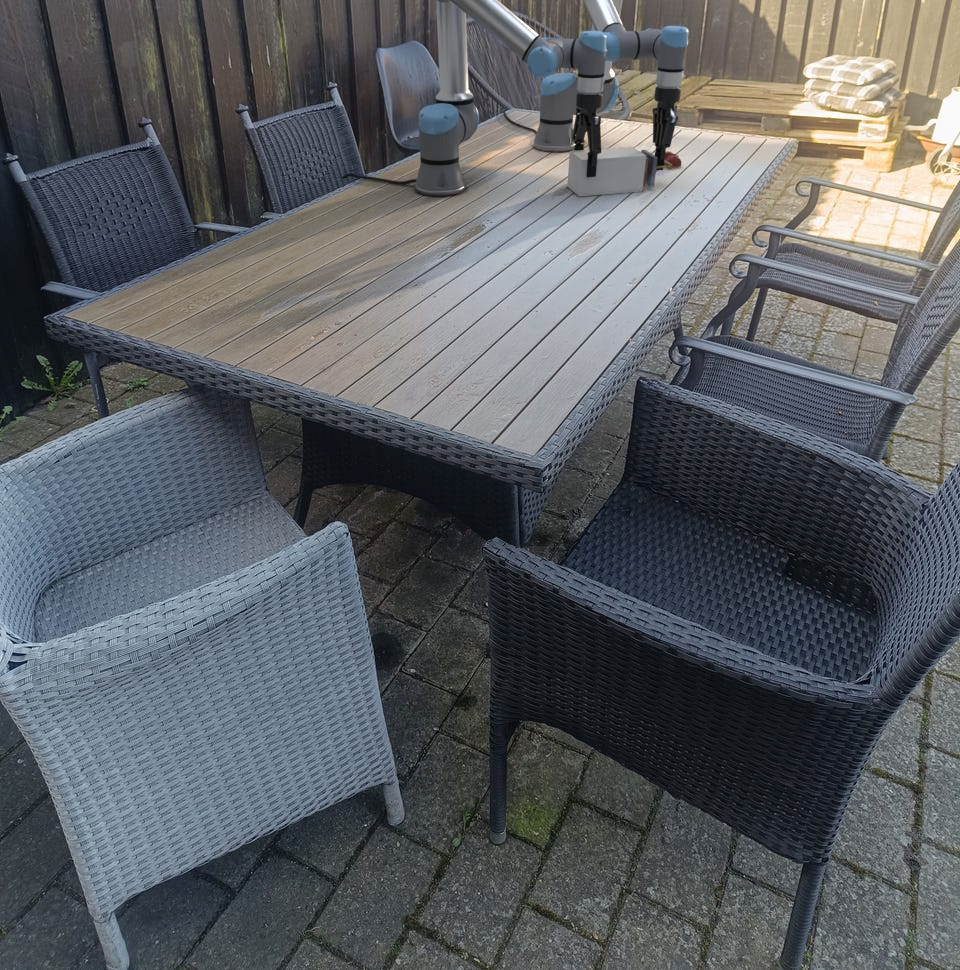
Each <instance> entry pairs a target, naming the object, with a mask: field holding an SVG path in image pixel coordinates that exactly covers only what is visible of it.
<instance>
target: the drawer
mask: <svg viewBox="0 0 960 970" xmlns="http://www.w3.org/2000/svg"><path fill="white" fill-rule="evenodd" d="M640 152H641V153H643V154H645V155H646V163H645V172H644V180H643V187H646V186H648V187H650V188H655V182H656V175H657V170H656V169H657V168H663V169H667V170H669V171H670V170H672V168H673V167H672V164H670V163H669V162H667V161H666V160H664V166H657V158H658V157H656V156H655V154H653V153H652V152H649V151H648V150H646V149H641V151H640Z"/></svg>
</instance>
